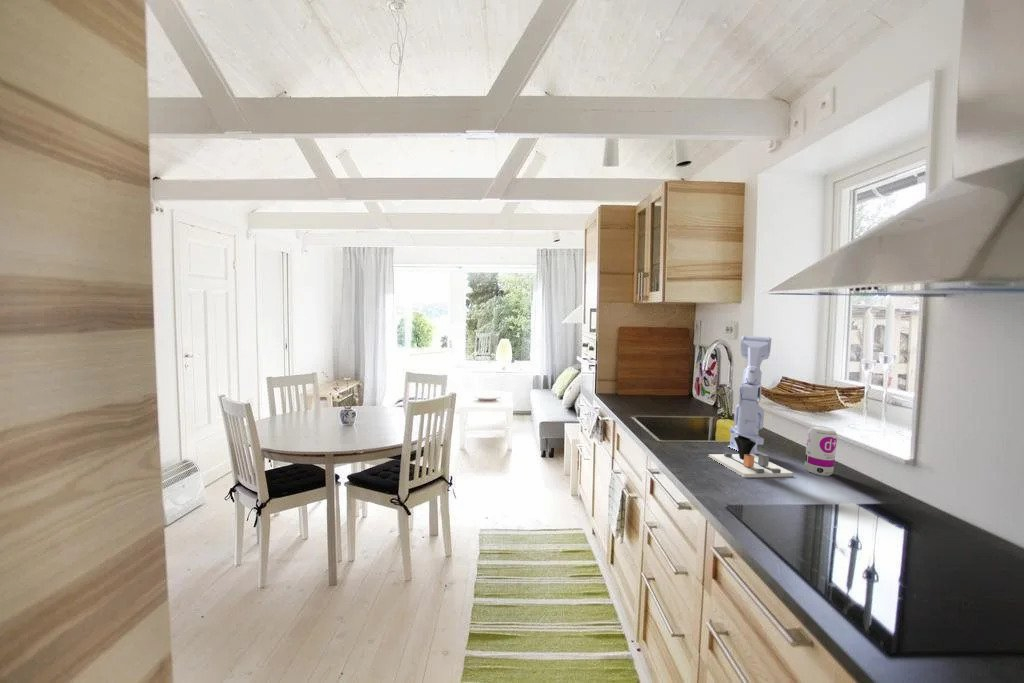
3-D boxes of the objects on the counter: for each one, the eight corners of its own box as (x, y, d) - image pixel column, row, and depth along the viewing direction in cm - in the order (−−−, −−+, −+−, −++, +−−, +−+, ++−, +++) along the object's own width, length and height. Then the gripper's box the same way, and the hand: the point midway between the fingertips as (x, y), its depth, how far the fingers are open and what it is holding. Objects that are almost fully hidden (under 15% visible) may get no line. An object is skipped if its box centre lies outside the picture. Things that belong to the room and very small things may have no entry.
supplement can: (838, 477, 154) (843, 432, 153) (813, 475, 154) (818, 431, 153) (822, 468, 162) (827, 426, 161) (798, 467, 162) (803, 424, 161)
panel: (708, 457, 168) (708, 451, 167) (752, 457, 171) (753, 450, 171) (743, 477, 149) (744, 470, 149) (792, 476, 152) (793, 469, 152)
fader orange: (743, 464, 157) (744, 454, 157) (748, 464, 157) (749, 454, 157) (748, 467, 154) (749, 456, 154) (753, 466, 155) (754, 456, 155)
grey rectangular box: (757, 463, 158) (758, 453, 158) (763, 463, 159) (764, 453, 159) (762, 466, 156) (763, 455, 156) (768, 466, 157) (769, 455, 156)
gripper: (723, 414, 163) (719, 452, 164) (751, 425, 149) (747, 466, 150) (741, 414, 165) (737, 452, 166) (771, 425, 150) (766, 466, 152)
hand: (743, 459), depth 158 cm, fingers closed
